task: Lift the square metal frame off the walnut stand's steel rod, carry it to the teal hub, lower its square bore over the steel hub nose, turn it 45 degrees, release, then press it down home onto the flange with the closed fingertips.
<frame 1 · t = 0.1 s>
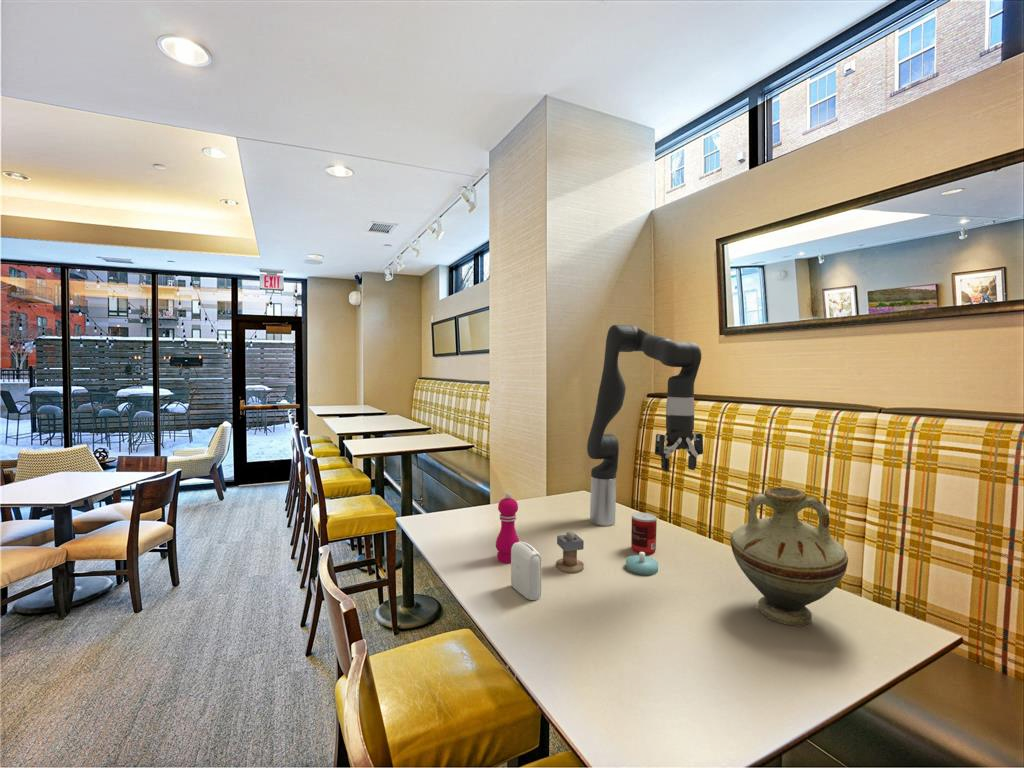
hand: (678, 470, 131), 29 cm above the table, fingers open, 8 cm apart
amphora: (784, 614, 109), on the table
square metal frame: (570, 546, 134), point 6 cm above the table, touching stand
stand: (569, 567, 134), on the table
pepper mill: (507, 559, 139), on the table
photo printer: (525, 592, 119), on the table
hub: (641, 568, 134), on the table
canned food: (643, 550, 148), on the table
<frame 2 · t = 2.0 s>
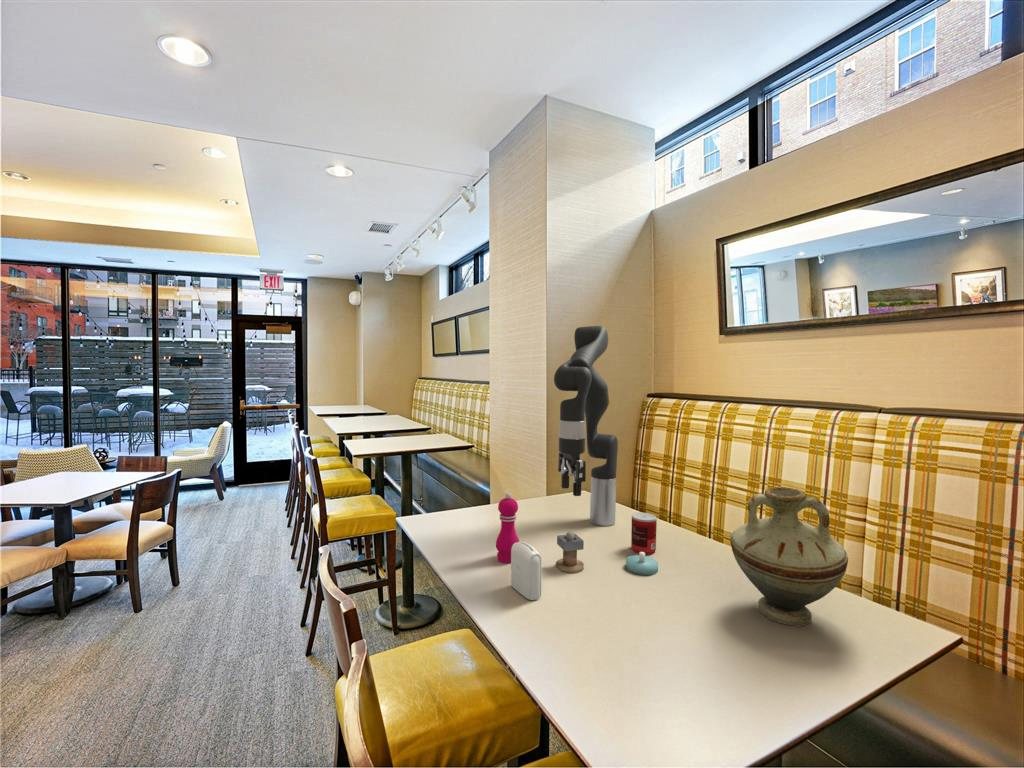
hand: (570, 491, 134), 22 cm above the table, fingers open, 8 cm apart
nothing on the table moved.
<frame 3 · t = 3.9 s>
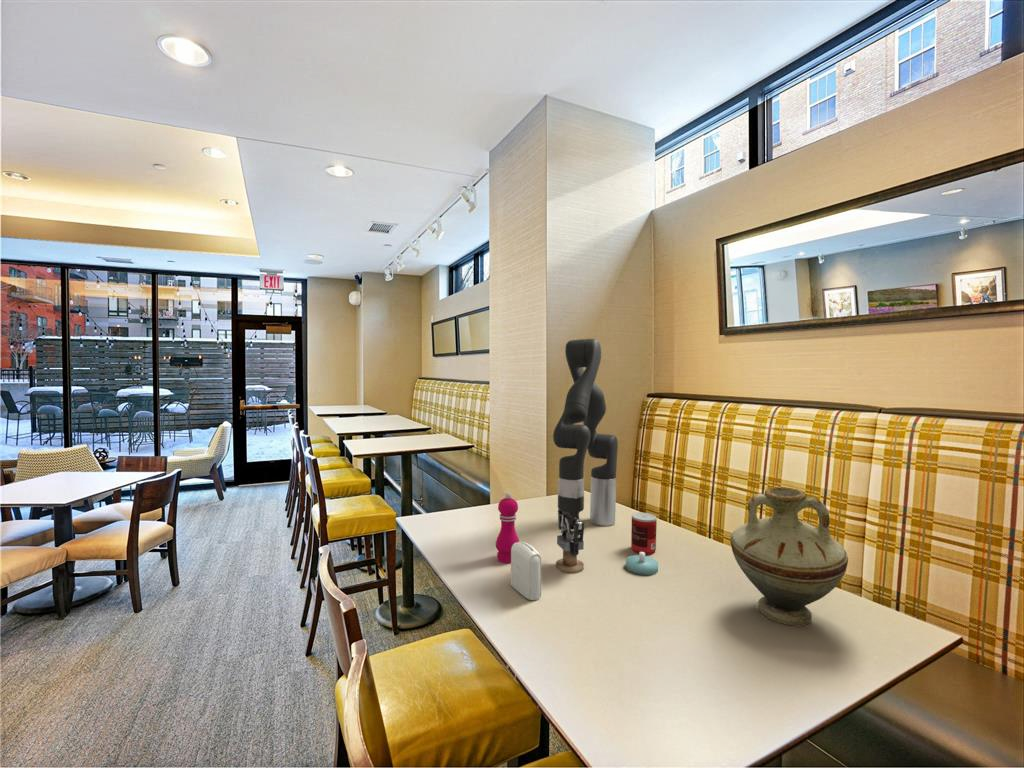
hand: (570, 550, 134), 5 cm above the table, fingers closed on square metal frame, 5 cm apart
square metal frame: (570, 546, 134), point 6 cm above the table, touching gripper, stand
everything else where it was.
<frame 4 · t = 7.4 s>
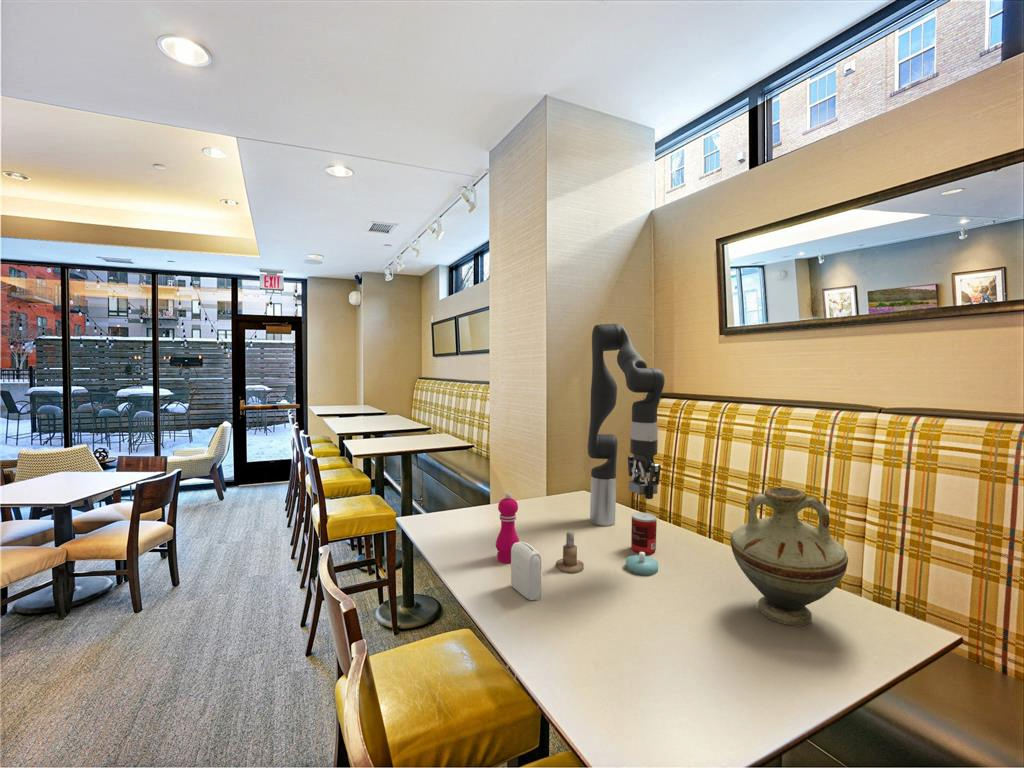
hand: (642, 495, 133), 21 cm above the table, fingers closed on square metal frame, 5 cm apart
square metal frame: (642, 491, 133), point 22 cm above the table, touching gripper
everything else where it was.
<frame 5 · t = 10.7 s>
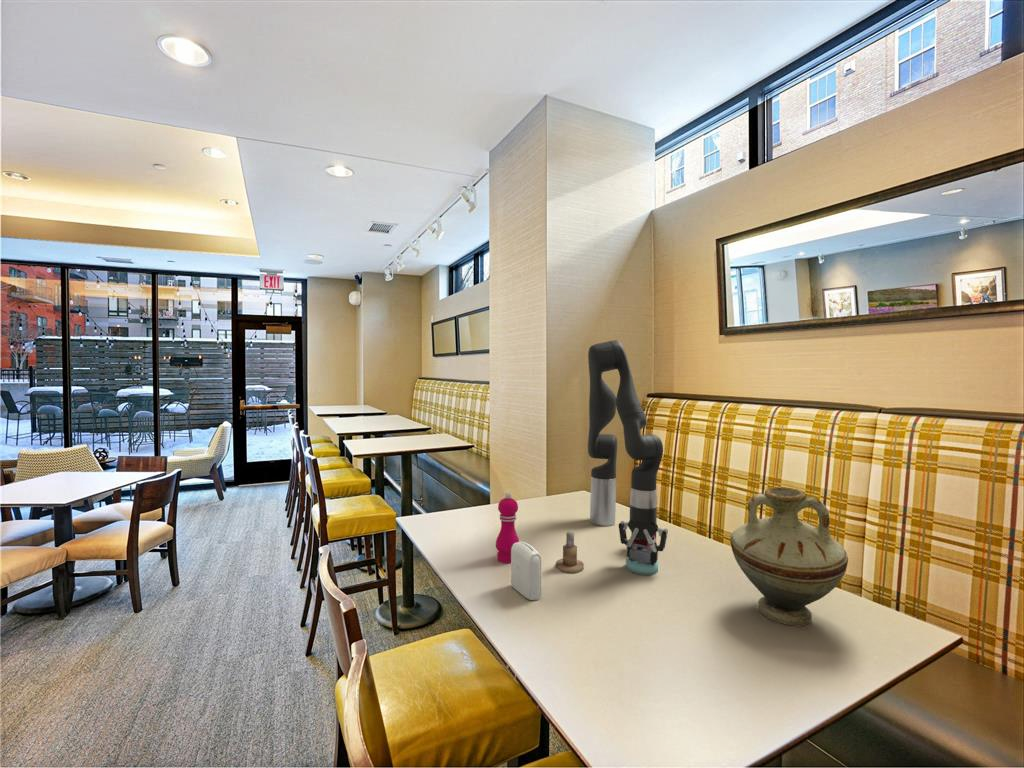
hand: (642, 561, 134), 2 cm above the table, fingers closed on square metal frame, 5 cm apart
square metal frame: (642, 557, 134), point 3 cm above the table, touching gripper
everything else where it was.
when the fingers open (2 cm above the table, at t = 10.7 s): square metal frame drops 1 cm, resting on hub.
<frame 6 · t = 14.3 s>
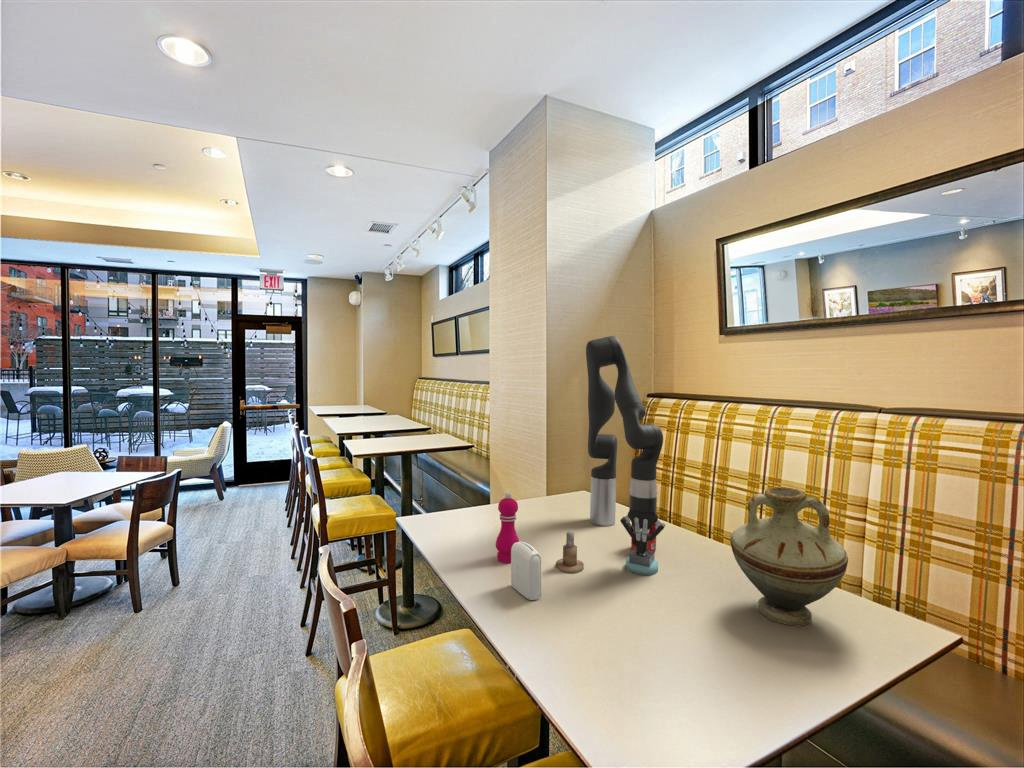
hand: (641, 552, 134), 5 cm above the table, fingers closed
square metal frame: (641, 561, 134), point 2 cm above the table, touching hub
everything else where it was.
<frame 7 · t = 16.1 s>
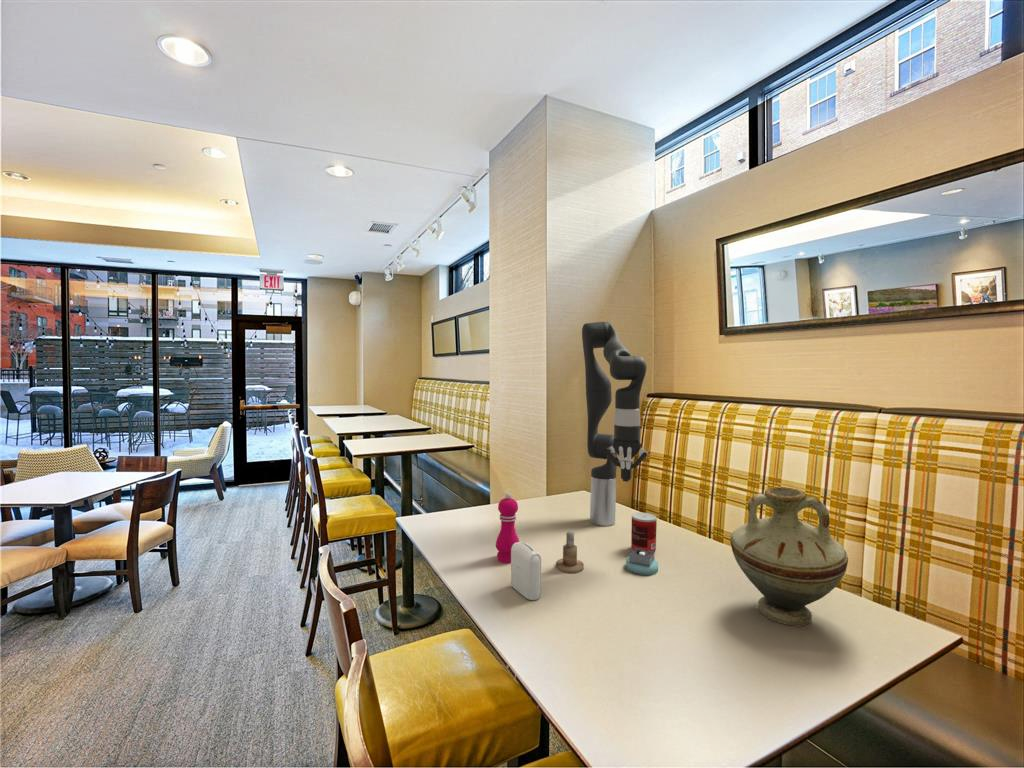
hand: (626, 480, 138), 24 cm above the table, fingers closed
nothing on the table moved.
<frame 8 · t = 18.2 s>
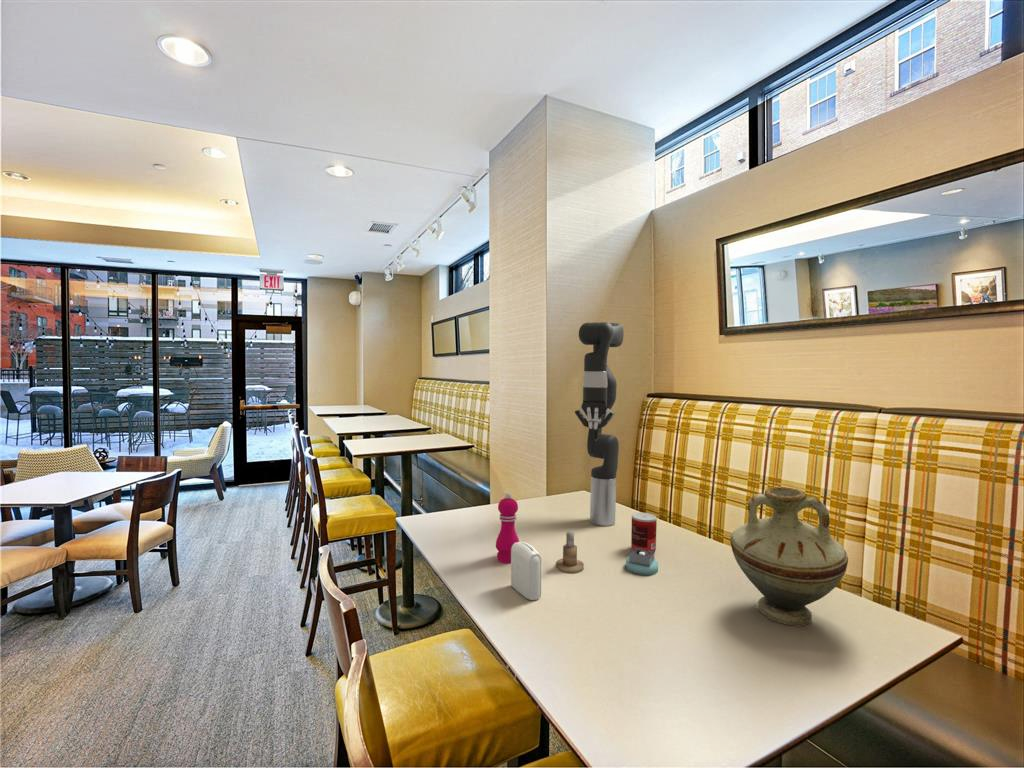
hand: (594, 440, 146), 35 cm above the table, fingers closed
nothing on the table moved.
at the end: square metal frame 0.0 cm from the hub (horizontally); square metal frame point 2.0 cm above the table; square metal frame tilted 0° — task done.
